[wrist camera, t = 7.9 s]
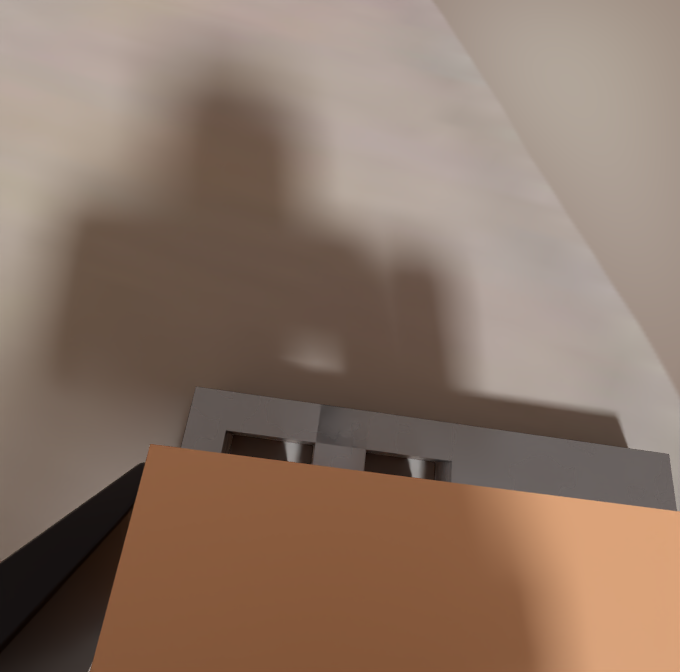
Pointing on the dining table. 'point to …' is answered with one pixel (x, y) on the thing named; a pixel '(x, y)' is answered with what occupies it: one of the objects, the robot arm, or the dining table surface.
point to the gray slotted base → (436, 448)
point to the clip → (382, 575)
